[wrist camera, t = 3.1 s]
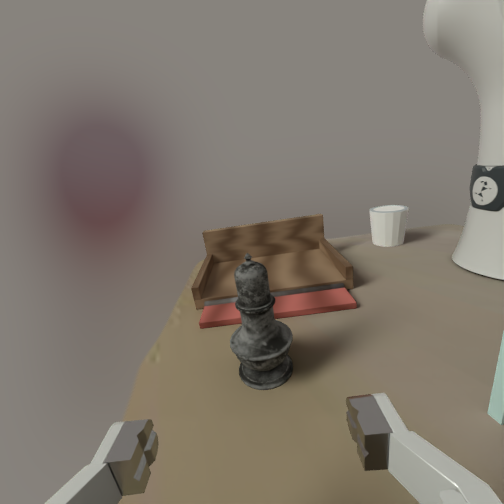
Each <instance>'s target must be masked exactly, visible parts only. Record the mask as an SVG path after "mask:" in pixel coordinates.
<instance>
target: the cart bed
mask: <svg viewBox="0 0 504 504" xmlns="http://www.w3.org/2000/svg"><path fill="white" fill-rule="evenodd" d="M203 238H204V242H205V247H206V251H207V257H206V258H205V260H204V263H203V265H202V267H201V269H200V271H199V273H198V275H197V277H196V279H195V282H194V284H193V286H192V288H191V289H192V293H193V297H194V301H195V305H196V309H203V313H202V316H201V319H200V322H199V325H200V329H201V328H208V327H216V326H224V325H231V324H239V323H242V321H241V315H240V311H239V310H237V309H236V307H235V303H236V301H237V299H238V294H237V289H236V283H235V278H234V272H235V270H236V268H237V267H238V266H239V265H241V264H242V263H244V262H245V261H246V259H244V257H245V255H246V253H249V254H250V256H252V258H251V260H252V261H255V262H259V263H261V264H263V265H264V266H265V267H266V269H267V273H268V281H269V288H270V294H272V295H273V296H274V297H275V304H274V305H273V311H274V318H275V319H277V318H285V317H292V316H300V315H308V314H315V313H323V312H331V311H338V310H346V309H354V308H357V307H356V301H355V300H354V299H353V298H352V296H351V295H350V294H349V292H348V291H347V290H346V289H353V266H352V265H351V264H350V263H349V262H348V261H347V260H346V259H345V258H344V257H343V256H342V255H341V254H340V253H339V252H338V251H337V250H336V249H335V248H334V247H333V246H332V245H331V244H330V243H329V242H328V241H327V240H326V239H324V226H323V215H322V214H317V215H310V216H303V217H296V218H289V219H282V220H276V221H268V222H262V223H255V224H248V225H241V226H234V227H227V228H220V229H214V230H207V231H204V232H203Z"/></svg>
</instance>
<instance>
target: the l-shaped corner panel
mask: <svg viewBox="0 0 504 504" xmlns="http://www.w3.org/2000/svg"><path fill="white" fill-rule="evenodd" d="M488 414H489V415H490V416H491V417H492V418H494V419H495V420H496V421H497V422H498V423H499V424H501V425H502V424H504V332H503V337H502V342H501V347H500V353H499V358H498V363H497V368H496V373H495V378H494V383H493V388H492V393H491V398H490V403H489V408H488Z"/></svg>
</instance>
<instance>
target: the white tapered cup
mask: <svg viewBox="0 0 504 504" xmlns="http://www.w3.org/2000/svg"><path fill="white" fill-rule="evenodd" d="M408 211H409V208H408V207H406V206H399V205H387V206H379V207H374V208H371V209H370V220H371V229H372V240H373V244H375V245H378V246H385V247H392V246H398V245H402V244H403V243H404V237H405V230H406V224H407V217H408Z"/></svg>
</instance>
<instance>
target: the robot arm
mask: <svg viewBox="0 0 504 504" xmlns="http://www.w3.org/2000/svg"><path fill="white" fill-rule="evenodd" d="M423 32H424V36H425V39H426V42H427V44H428V46H429V47H430V49H431V50H432V51H433V52H434V53H435V54H437V55H438V56H440V57H442V58H444V59H447V60H449V61H451V62H453V63H454V64H456V65H457V66H459V67H460V68H461V69H462V70H463V71H464V72H465V73H466V74H467V75H468V76H469V78H470V79H471V81H472V83H473V84H474V86H475V89H476V91H477V93H478V97H479V101H480V110H481V126H480V143H479V153H478V161H477V164H476V165H475V166H474V167H473V171H472V176H471V183H470V196H471V204H470V208H469V211H468V215H467V219H466V222H465V225H464V228H463V231H462V234H461V237H460V240H459V242H458V245H457V247H456V249H455V251H454V253H453V255H452V260H453V261H454V262H455V263H456V264H457V265H459V266H461V267H463V268H465V269H467V270H469V271H472V272H475V273H478V274H481V275H485V276H488V277H492V278H497V279H502V280H504V0H427V2H426V6H425V10H424V15H423ZM346 405H347V407H348V411H347V422H348V427H349V430H350V434H351V436H352V439H353V440H354V441H355V442H356V443H357V452H358V455H359V457H360V460H361V463H362V465H363V468H364V470H365V471H370V470H385V469H388V471H389V472H390V473H391V474H392V475H393V476H394V477H395V478H396V479H397V480H398V481H399V482H400V483H401V484H402V485H403V486H404V487H405V488H406V489H407V490H408V491H409V492H410V493H411V495H412V496H413V497H414V498H415V499H416V500H417V501H418V502H419V503H420V504H502V502H501V501H500V500H499V498H498V497H497V496H496V494H495V493H494V492H493V490H492V489H491V488H490V486H489V485H488V484H486V483H485V482H484V481H482V480H481V479H479V478H478V477H477V476H475V475H474V474H472V473H471V472H470V471H468V470H467V469H465V468H464V467H463V466H461V465H460V464H458V463H457V462H456V461H454V460H453V459H451V458H450V457H449V456H447V455H446V454H444V453H443V452H442V451H440V450H439V449H437V448H436V447H435V446H433V445H432V444H430V443H429V442H428V441H426V440H425V439H423V438H422V437H420V436H419V435H418V434H416V433H415V432H413V431H408V429H407V427H406V426H405V424H404V423H403V421H402V419H401V418H400V416H399V414H398V413H397V411H396V409H395V408H394V406H393V405H392V403H391V401H390V400H389V398H388V396H387V395H386V394H385V393H378V394H368V395H360V396H352V397H347V398H346ZM153 426H154V425H153V422H152V420H150V419H148V420H136V421H125V422H115V423H114V424H113V425H112V426H111V427H110V429H109V431H108V432H107V434H106V436H105V438H104V440H103V441H102V443H101V445H100V447H99V449H98V451H97V453H96V454H95V456H94V458H93V460H92V462H91V463H90V465H86V466H85V467H84V468H83V469H82V470H81V471H79V472H78V473H77V474H76V475H75V476H74V477H73V478H72V479H71V480H70V481H69V482H67V483H66V484H65V485H64V486H63V487H62V488H61V489H60V490H59V491H58V492H57V493H55V494H54V495H53V496H52V497H51V498H50V499H49V500H48V501H47V502H46V503H45V504H118V502H119V501H120V500H121V499H122V496H126V495H133V494H141V493H144V492H145V489H146V486H147V483H148V480H149V477H150V474H151V472H150V469H149V466H150V465H151V464H152V463H153V462H154V461H155V458H156V455H157V451H158V436H157V433H156V432H154V431H153V430H152V429H153Z"/></svg>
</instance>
